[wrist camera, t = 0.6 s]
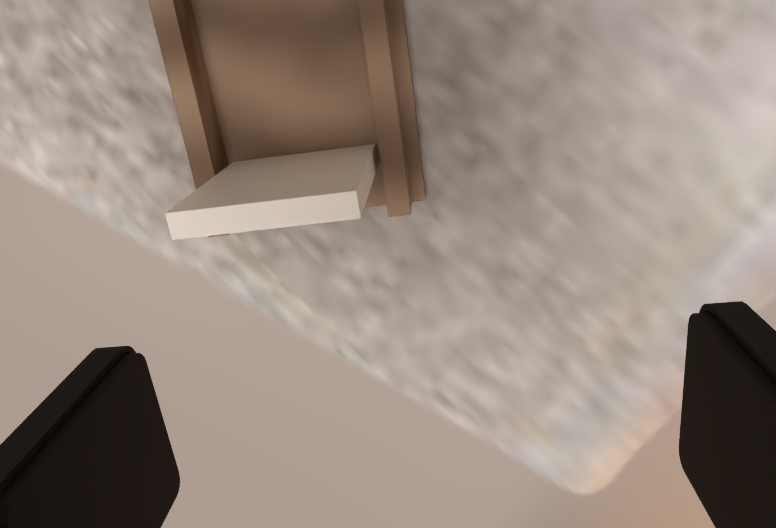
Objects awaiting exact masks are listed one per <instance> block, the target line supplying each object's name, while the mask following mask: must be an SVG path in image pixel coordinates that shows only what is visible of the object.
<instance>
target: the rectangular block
mask: <svg viewBox="0 0 776 528" xmlns="http://www.w3.org/2000/svg"><path fill="white" fill-rule="evenodd" d="M377 167H378V160H377V153H376V146H375V144H370V145H362V146H355V147H347V148H339V149H331V150H323V151H315V152H307V153H299V154H291V155H283V156H275V157H267V158H259V159H251V160H243V161H235V162H232V163H231V164H230V165H228V166H227V167H226V168H225V169H223V170H222V171H221V172H219V173H218V174H217V175H215V176H214V177H213V178H211V179H210V180H209V181H207V182H206V183H205V184H203V185H202V186H201V187H199V188H198V189H197V190H195V191H194V192H193V193H191V194H190V195H189V196H187V197H186V198H185V199H183V200H182V201H181V202H179V203H178V204H177V205H175V206H174V207H173V208H172V209H170V210H169V211H168V212H166V213H165V215H166V218H167V222H168V226H169V229H170V233H171V237H172V240H177V239H186V238H194V237H203V236H212V235H221V234H230V233H239V232H247V231H256V230H265V229H274V228H283V227H292V226H300V225H309V224H318V223H327V222H336V221H345V220H353V219H361V216H362V213H363V210H364V207H365V204H366V201H367V198H368V195H369V192H370V189H371V186H372V183H373V180H374V177H375V173H376V170H377Z"/></svg>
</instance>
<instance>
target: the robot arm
mask: <svg viewBox="0 0 776 528" xmlns="http://www.w3.org/2000/svg"><path fill="white" fill-rule="evenodd" d="M679 456H680V460H681V464H682V467H683V470H684V472H685V474H686V475H687V477H688V479H689V481H690V483H691V484H692V486H693V488H694V490H695V491H696V493H697V495H698V497H699V499H700V501H701V502H702V504H703V506H704V508H705V509H706V511H707V513H708V515H709V517H710V518H711V520H712V522H713V524H714V526H715V527H716V528H776V331H775V330H774V329H773V328H772V327H771V326H770V325H769V324H767V323H766V322H765V321H764V320H763V319H762V318H761V317H760V316H759V315H758V314H757V313H756V312H754V311H753V310H752V309H751V308H750V307H749V306H748V305H747V304H746V303H744V302H742V301H741V302H726V303H713V304H704V305H703V306H702V307H701V309H700V312H699V313H695V314H692V315H691V316H690V318H689V323H688V335H687V348H686V361H685V374H684V387H683V400H682V413H681V426H680V439H679ZM179 486H180V477H179V471H178V468H177V464H176V461H175V458H174V454H173V451H172V448H171V444H170V441H169V437H168V434H167V430H166V427H165V424H164V420H163V417H162V413H161V410H160V407H159V403H158V400H157V396H156V393H155V390H154V386H153V383H152V380H151V377H150V373H149V369H148V366H147V363H146V360H145V358H144V356H143V355H142V354H140V353H136V352H135V351H134V349H133V348H132V347H130V346H120V347H107V348H96V349H94V350H93V351H92V352H91V353H90V354H89V355H88V356H87V357H86V358H85V359H84V360H83V361H82V362H81V363H80V364H79V365H78V366H77V367H76V368H75V369H74V370H73V371H72V372H71V373H70V374H69V375H68V376H67V377H66V378H65V380H63V381H62V382H61V383H60V384H59V385H58V386H57V388H56V389H55V390H54V391H53V392H52V393H51V394H50V395H49V396H48V397H47V398H46V399H45V400H44V401H43V402H42V403H41V404H40V405H39V406H38V407H37V408H36V409H35V410H34V411H33V412H32V413H31V414H30V415H29V416H28V417H27V418H26V419H25V420H24V421H23V422H22V423H21V424H20V425H19V427H17V429H15V430H14V432H13V433H12V434H11V435H10V436H9V437H8V438H7V439H6V440H5V441H4V442H3V443H2V444H1V445H0V528H161V526H162V524H163V522H164V520H165V518H166V516H167V514H168V512H169V510H170V508H171V506H172V505H173V502H174V500H175V498H176V497H177V494H178V491H179Z"/></svg>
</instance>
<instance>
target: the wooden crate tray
mask: <svg viewBox="0 0 776 528" xmlns="http://www.w3.org/2000/svg"><path fill="white" fill-rule="evenodd" d="M148 1H149V5H150V9H151V13H152V17H153V21H154V25H155V29H156V33H157V36H158V40H159V44H160V48H161V52H162V56H163V60H164V64H165V68H166V72H167V76H168V80H169V84H170V88H171V91H172V95H173V99H174V103H175V107H176V111H177V115H178V119H179V123H180V127H181V131H182V135H183V139H184V143H185V147H186V150H187V154H188V158H189V162H190V166H191V170H192V174H193V178H194V182H195V186H196V190H197V189H198V188H199V187H201V186H202V185H203V184H205V183H206V182H207V181H209V180H210V179H211V178H213V177H214V176H215V175H217V174H218V173H219V172H221V171H222V170H223V169H225V168H226V167H227V166H228V165H230V164H231V163H232V162H235V161H243V160H251V159H259V158H267V157H275V156H283V155H291V154H299V153H307V152H315V151H323V150H331V149H339V148H347V147H355V146H362V145H370V144H375V146H376V153H377V160H378V167H377V170H376V173H375V177H374V180H373V183H372V186H371V189H370V192H369V195H368V198H367V201H366V204H365V207H369V206H378V205H386V204H387V209H388V216H389V217H392V216H401V215H410V214H411V204H412V201H421V200H425V187H424V178H423V170H422V161H421V153H420V144H419V136H418V127H417V119H416V110H415V102H414V93H413V85H412V76H411V68H410V59H409V51H408V42H407V34H406V25H405V17H404V8H403V0H148ZM224 235H230V234H221V235H212V236H208V237H215V236H224Z"/></svg>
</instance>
